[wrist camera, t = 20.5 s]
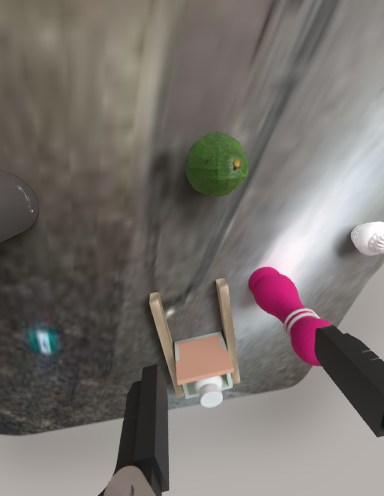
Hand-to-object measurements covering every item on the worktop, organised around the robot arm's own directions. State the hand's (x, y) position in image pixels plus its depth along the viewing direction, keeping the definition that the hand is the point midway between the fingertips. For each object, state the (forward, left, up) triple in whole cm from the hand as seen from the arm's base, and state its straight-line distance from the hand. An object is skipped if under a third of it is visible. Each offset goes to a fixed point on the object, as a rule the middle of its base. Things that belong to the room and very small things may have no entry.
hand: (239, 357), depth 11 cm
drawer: (-2, -30, -28) cm, 41 cm away
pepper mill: (+13, -15, -28) cm, 35 cm away
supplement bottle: (-2, -30, -27) cm, 40 cm away
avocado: (+5, +8, -28) cm, 30 cm away
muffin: (+32, -9, -28) cm, 44 cm away
